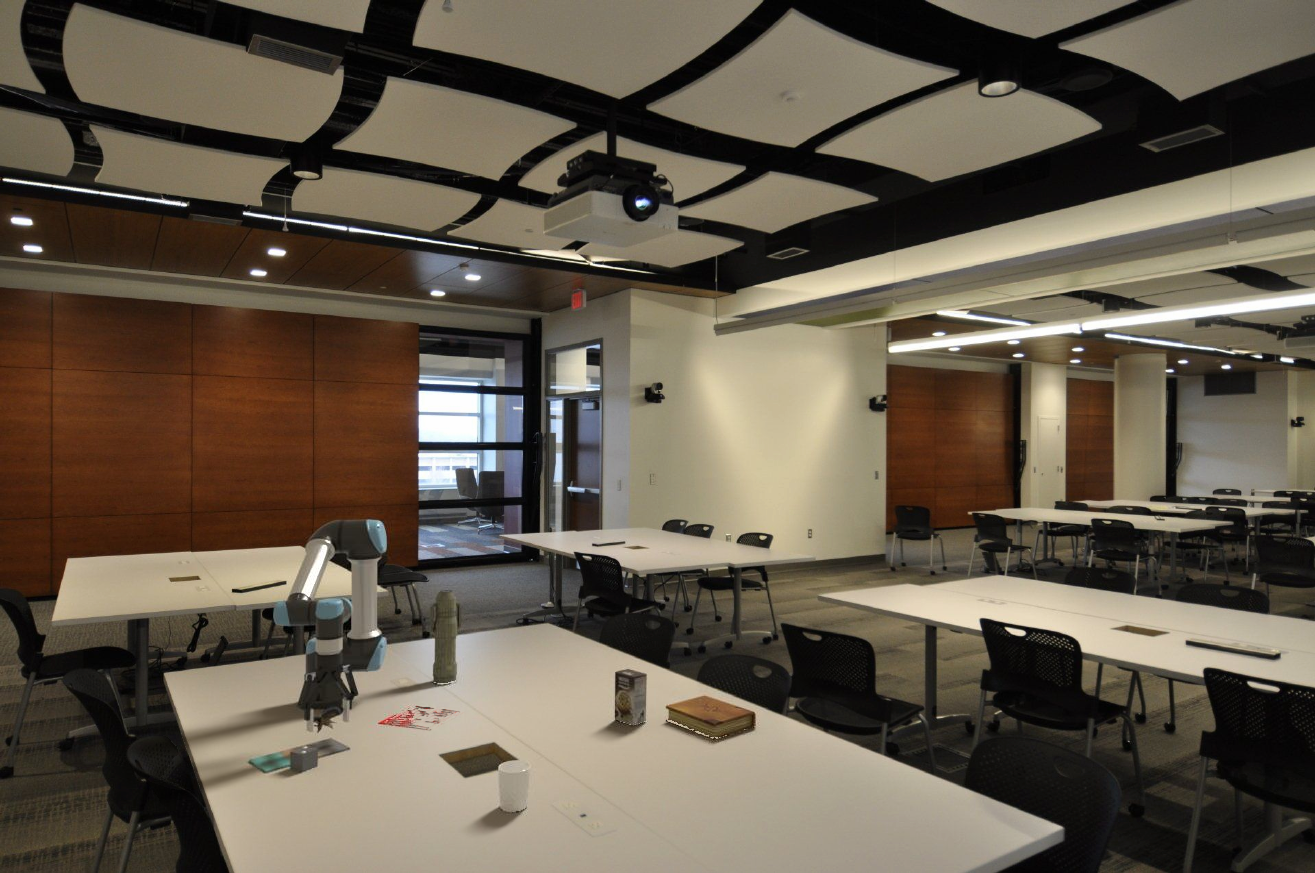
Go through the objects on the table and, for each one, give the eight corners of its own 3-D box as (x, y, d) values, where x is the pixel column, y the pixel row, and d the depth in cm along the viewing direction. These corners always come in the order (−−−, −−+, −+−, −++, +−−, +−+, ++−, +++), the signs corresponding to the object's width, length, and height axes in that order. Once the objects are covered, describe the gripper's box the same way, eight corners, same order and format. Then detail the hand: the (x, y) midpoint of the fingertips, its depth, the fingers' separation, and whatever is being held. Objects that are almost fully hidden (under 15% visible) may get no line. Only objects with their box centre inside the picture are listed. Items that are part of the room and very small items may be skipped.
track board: (330, 739, 243) (330, 737, 243) (349, 749, 235) (350, 747, 235) (248, 761, 225) (248, 759, 225) (266, 772, 217) (266, 770, 217)
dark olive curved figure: (336, 729, 232) (349, 714, 241) (321, 710, 231) (336, 695, 240) (316, 742, 233) (330, 725, 242) (301, 723, 232) (316, 707, 241)
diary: (755, 729, 256) (755, 711, 256) (714, 742, 244) (714, 723, 244) (706, 710, 274) (706, 694, 274) (665, 722, 262) (665, 704, 262)
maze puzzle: (464, 712, 270) (464, 710, 270) (430, 731, 251) (430, 729, 251) (415, 706, 277) (415, 704, 277) (378, 724, 258) (378, 722, 258)
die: (305, 763, 224) (305, 745, 224) (317, 766, 222) (317, 748, 222) (290, 769, 219) (290, 750, 219) (302, 772, 217) (302, 753, 217)
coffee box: (613, 720, 262) (614, 671, 262) (627, 716, 266) (627, 667, 267) (633, 727, 256) (633, 676, 256) (647, 722, 260) (647, 673, 261)
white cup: (499, 800, 200) (500, 760, 200) (531, 799, 201) (531, 759, 201) (496, 814, 192) (496, 772, 192) (528, 813, 193) (529, 771, 193)
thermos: (464, 681, 307) (465, 590, 308) (435, 687, 299) (436, 594, 300) (453, 676, 314) (455, 588, 315) (425, 681, 306) (426, 591, 307)
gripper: (359, 642, 248) (358, 713, 247) (284, 656, 230) (283, 732, 230) (371, 646, 243) (370, 719, 242) (296, 661, 225) (295, 739, 225)
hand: (328, 725), depth 236 cm, fingers closed on dark olive curved figure, 10 cm apart
